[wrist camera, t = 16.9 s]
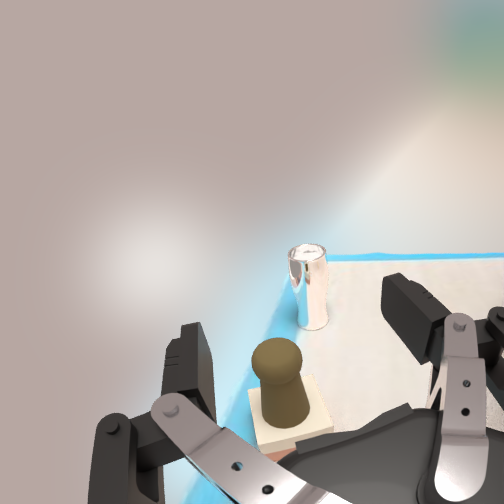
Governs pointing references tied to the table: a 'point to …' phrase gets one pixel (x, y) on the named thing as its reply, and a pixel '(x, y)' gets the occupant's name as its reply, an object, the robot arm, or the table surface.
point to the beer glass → (309, 284)
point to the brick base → (283, 440)
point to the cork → (281, 383)
